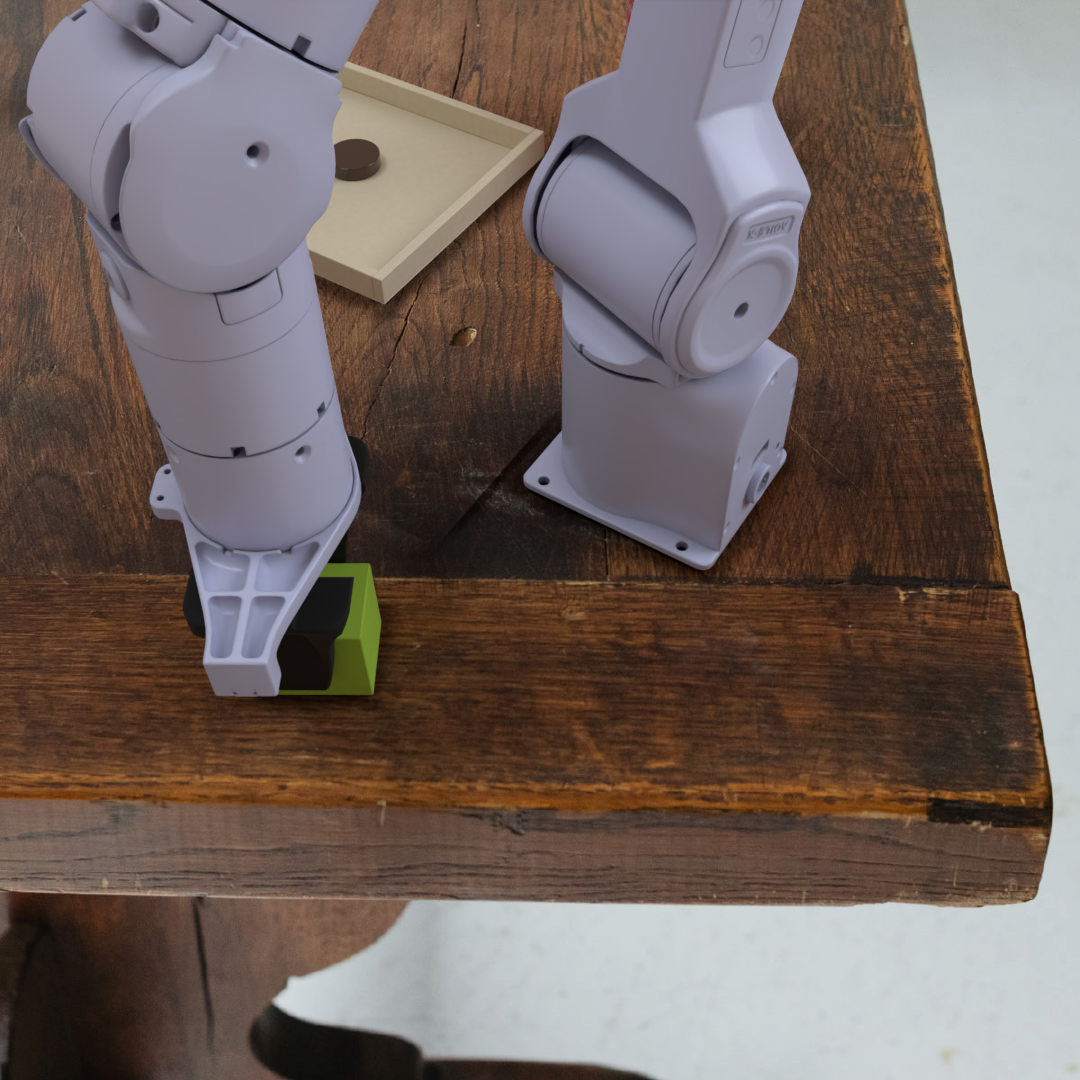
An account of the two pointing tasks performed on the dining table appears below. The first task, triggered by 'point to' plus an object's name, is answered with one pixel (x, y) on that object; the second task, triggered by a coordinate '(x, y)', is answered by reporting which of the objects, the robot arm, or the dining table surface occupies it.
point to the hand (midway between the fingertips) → (311, 637)
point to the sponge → (354, 636)
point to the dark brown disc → (356, 159)
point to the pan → (412, 180)
